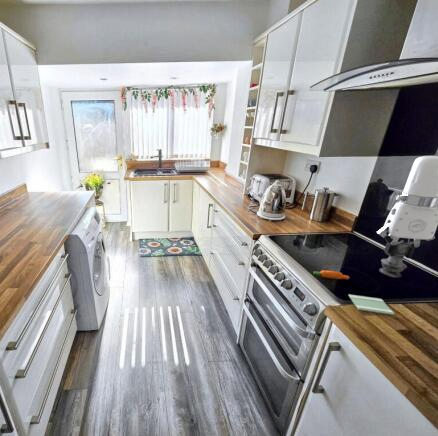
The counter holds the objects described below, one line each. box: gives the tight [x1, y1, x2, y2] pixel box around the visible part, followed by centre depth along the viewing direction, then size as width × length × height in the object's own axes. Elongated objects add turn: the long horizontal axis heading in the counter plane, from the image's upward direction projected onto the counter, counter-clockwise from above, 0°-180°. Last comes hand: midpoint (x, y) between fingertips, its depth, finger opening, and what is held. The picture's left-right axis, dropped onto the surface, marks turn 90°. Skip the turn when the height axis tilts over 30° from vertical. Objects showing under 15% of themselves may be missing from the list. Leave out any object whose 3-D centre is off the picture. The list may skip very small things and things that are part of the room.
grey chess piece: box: [378, 239, 408, 278], centre depth 76 cm, size 6×6×12 cm
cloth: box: [348, 293, 396, 316], centre depth 85 cm, size 8×10×1 cm
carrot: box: [312, 269, 350, 280], centre depth 100 cm, size 13×3×3 cm, turn 73°
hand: (397, 254), depth 76 cm, fingers closed on grey chess piece, 3 cm apart
